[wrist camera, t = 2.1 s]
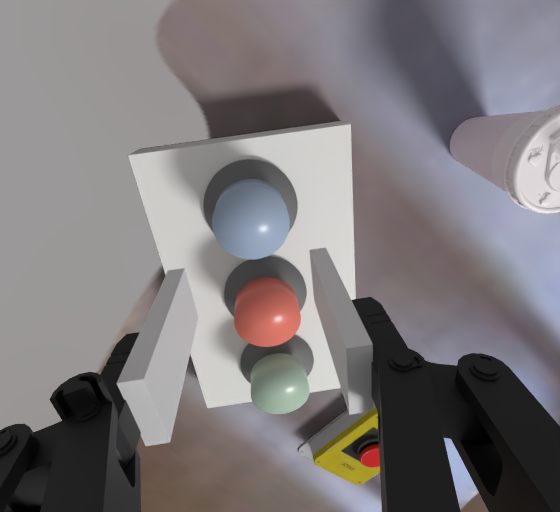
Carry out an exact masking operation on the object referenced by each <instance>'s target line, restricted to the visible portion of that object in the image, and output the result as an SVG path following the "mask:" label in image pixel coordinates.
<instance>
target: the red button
mask: <svg viewBox="0 0 560 512" xmlns="http://www.w3.org/2000/svg"><path fill="white" fill-rule="evenodd" d="M300 323H301V314H300V309H299V305H298V300H297V296H296V294H295V292H294V290H293V289H292V287H291V286H290V285H288V284H287V283H286V282H284V281H282V280H279V279H276V278H270V277H265V278H258V279H255V280H253V281H250V282H249V283H247V284H246V285H245V286H243V287H242V288H241V290H240V291H239V293H238V294H237V297H236V301H235V312H234V325H235V329H236V331H237V333H238V334H239V335H240V337H241V338H243V339H244V340H245V341H247V342H248V343H250V344H253V345H256V346H261V347H271V346H276V345H280V344H282V343H284V342H286V341H288V340H289V339H290V338H292V337H293V336H294V335H295V333H296V332H297V330H298V329H299V326H300Z"/></svg>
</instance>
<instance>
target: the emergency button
mask: <svg viewBox="0 0 560 512" xmlns="http://www.w3.org/2000/svg"><path fill="white" fill-rule="evenodd" d="M298 452H299V454H300V455H302V456H304V457H306V458H308V459H310V460H312V461H314V463H315V464H316V465H317V466H319V467H321V468H323V469H325V470H327V471H329V472H331V473H333V474H335V475H337V476H339V477H341V478H343V479H345V480H347V481H349V482H351V483H353V484H355V485H361V484H364V483H365V482H367V481H368V480H369V479H371V478H372V477H374V476H375V475H377V474H378V473H380V457H379V438H378V411H377V409H376V406H375V404H374V401H373V411H370V412H364V413H357V414H351V415H349V412H348V409H347V410H346V411H345V412H343V413H342V414H341V415H340V416H338V417H337V418H336V419H334V420H333V421H332V422H331V423H329V424H328V425H327V426H326V427H324V428H323V429H322V430H320V431H319V432H318V433H317V434H315V435H314V436H313V437H312V438H310V439H309V440H308V441H306V442H305V443H304V444H303V445H301V446H300V448H299V449H298Z"/></svg>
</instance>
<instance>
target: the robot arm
mask: <svg viewBox="0 0 560 512" xmlns="http://www.w3.org/2000/svg"><path fill="white" fill-rule="evenodd" d="M309 251H310V262H311V273H312V283H313V294H314V301H315V305H316V308H317V311H318V314H319V318H320V321H321V324H322V327H323V331H324V334H325V337H326V340H327V344H328V347H329V350H330V354H331V357H332V360H333V363H334V367H335V370H336V373H337V376H338V380H339V383H340V386H341V389H342V393H343V396H344V399H345V402H346V406H347V409H348V412H349V415H351V414H357V413H364V412H370V411H373V401H374V404H375V406H376V409H377V411H378V438H379V457H380V478H381V499H382V512H460V508H459V504H458V499H457V495H456V490H455V486H454V482H453V477H452V473H451V468H450V464H449V460H448V455H447V451H446V446H445V442H444V438H450V439H451V440H452V441H453V443H454V445H455V447H456V449H457V451H458V453H459V455H460V457H461V459H462V461H463V463H464V464H465V466H466V468H467V470H468V472H469V474H470V476H471V478H472V480H473V482H474V484H475V486H476V488H477V489H478V491H479V493H480V495H481V497H482V499H483V501H484V503H485V505H486V507H487V509H488V511H489V512H560V426H559V425H558V424H557V423H556V421H555V420H554V419H553V418H552V417H551V416H550V415H549V413H548V412H547V411H546V410H545V409H544V408H543V406H542V405H541V404H540V403H539V402H538V401H537V399H536V398H535V397H534V396H533V395H532V394H531V392H530V391H529V390H528V389H527V388H526V387H525V385H524V384H523V383H522V382H521V381H520V380H519V379H518V377H517V376H516V375H515V374H514V373H513V372H512V370H511V369H510V368H509V367H508V366H507V365H505V364H504V363H503V362H502V361H500V360H498V359H496V358H494V357H492V356H489V355H485V354H475V353H471V354H468V355H464V356H463V357H461V358H460V359H459V360H458V365H457V366H455V365H444V364H436V363H430V362H428V361H425V360H424V358H423V357H422V356H421V355H420V354H419V353H417V352H415V351H413V350H411V349H408V347H407V345H406V344H405V342H404V341H403V339H402V337H401V336H400V334H399V332H398V331H397V329H396V328H395V326H394V324H393V323H392V322H391V319H390V318H389V316H388V315H387V314H386V311H385V310H384V308H383V306H382V305H381V304H380V303H379V302H378V301H376V300H375V299H373V298H372V297H367V298H361V299H354V300H351V298H350V296H349V294H348V292H347V290H346V288H345V286H344V284H343V282H342V280H341V278H340V276H339V274H338V271H337V269H336V267H335V265H334V263H333V261H332V259H331V257H330V255H329V253H328V251H327V249H326V248H319V249H312V250H309ZM197 321H198V313H197V310H196V306H195V303H194V299H193V296H192V292H191V289H190V285H189V282H188V278H187V275H186V271H185V268H182V269H175V270H168V271H167V274H166V276H165V278H164V280H163V282H162V285H161V287H160V289H159V291H158V293H157V296H156V298H155V300H154V302H153V304H152V307H151V309H150V311H149V313H148V315H147V317H146V320H145V322H144V324H143V326H142V328H141V331H140V332H138V333H131V334H126V335H125V336H124V337H123V338H122V339H121V340H120V341H119V342H118V343H117V344H116V346H115V348H114V350H113V352H112V354H111V357H109V359H108V361H107V363H106V366H105V367H104V369H103V371H102V373H101V374H100V375H99V374H98V373H93V372H88V373H83V374H79V375H77V376H74V377H72V378H70V379H68V380H67V381H66V382H64V383H63V384H61V385H60V386H59V387H58V388H57V389H56V390H55V391H54V392H53V394H52V396H51V398H50V401H51V403H52V404H53V406H54V408H55V409H56V411H57V413H58V414H59V416H60V417H61V419H62V421H61V422H59V423H56V424H54V425H51V426H49V427H46V428H44V429H42V430H39V431H36V432H34V433H33V431H32V430H31V429H30V427H29V426H27V425H25V424H15V425H12V426H8V427H5V428H4V429H2V430H0V512H4V510H5V508H7V509H8V510H7V512H141V494H140V456H139V453H138V451H137V449H136V447H137V444H138V440H139V437H140V435H141V437H142V439H143V441H144V443H145V446H150V445H157V444H163V443H170V440H171V436H172V431H173V427H174V422H175V418H176V414H177V409H178V405H179V400H180V396H181V392H182V387H183V383H184V378H185V374H186V370H187V365H188V361H189V357H190V352H191V348H192V343H193V339H194V335H195V330H196V326H197ZM443 437H444V438H443Z"/></svg>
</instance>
